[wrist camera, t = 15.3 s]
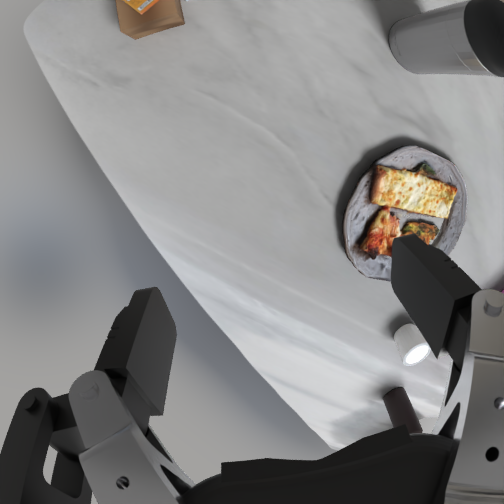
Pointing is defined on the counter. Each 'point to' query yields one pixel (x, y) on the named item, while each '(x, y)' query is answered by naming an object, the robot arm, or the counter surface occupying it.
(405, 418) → the bottle
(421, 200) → the food plate
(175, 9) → the base brick
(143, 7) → the supplement box
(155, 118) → the counter surface
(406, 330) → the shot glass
